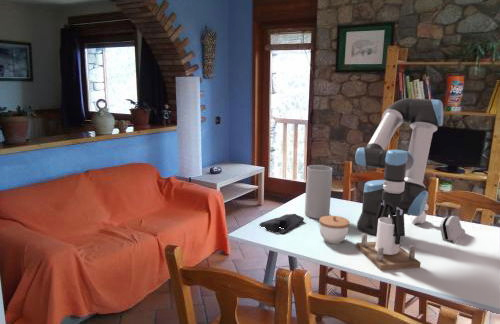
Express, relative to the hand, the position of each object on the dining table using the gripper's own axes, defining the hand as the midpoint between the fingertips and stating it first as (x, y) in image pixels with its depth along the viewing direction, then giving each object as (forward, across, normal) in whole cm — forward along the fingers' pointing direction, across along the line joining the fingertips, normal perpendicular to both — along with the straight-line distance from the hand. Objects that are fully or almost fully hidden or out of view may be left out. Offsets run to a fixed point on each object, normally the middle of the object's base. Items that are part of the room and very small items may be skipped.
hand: (387, 245), depth 149 cm
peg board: (+5, 0, 0) cm, 5 cm away
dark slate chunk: (+6, -39, -32) cm, 51 cm away
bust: (+5, -34, +36) cm, 50 cm away
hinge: (+5, -16, +41) cm, 44 cm away
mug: (+2, 0, 0) cm, 2 cm away
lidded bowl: (+5, -18, -15) cm, 24 cm away
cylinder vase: (+5, -50, -11) cm, 51 cm away
